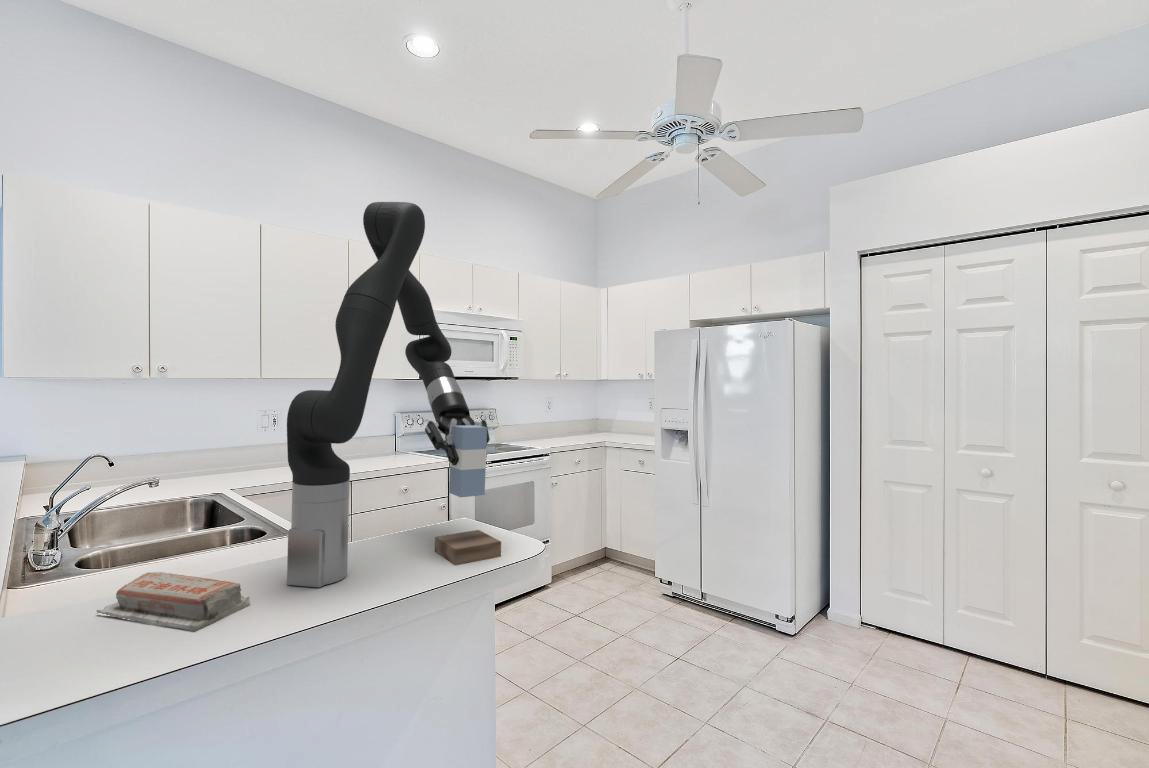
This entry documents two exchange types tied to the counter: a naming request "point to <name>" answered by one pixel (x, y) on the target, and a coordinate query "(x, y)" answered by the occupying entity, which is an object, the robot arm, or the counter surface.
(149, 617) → the packaged product
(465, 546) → the podium
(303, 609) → the counter surface
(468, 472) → the carton
